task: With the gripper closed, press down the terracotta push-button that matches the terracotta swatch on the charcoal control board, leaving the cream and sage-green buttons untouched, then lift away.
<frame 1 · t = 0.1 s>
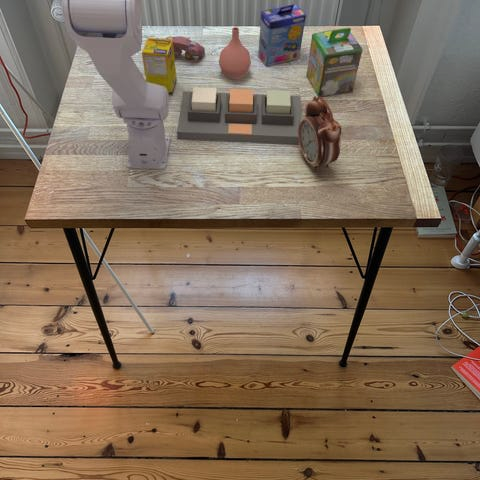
alarm clock: (314, 161, 107), on the table
chalk box: (328, 84, 123), on the table
control board: (240, 120, 114), on the table
supplement box: (162, 87, 121), on the table
terracotta button: (241, 102, 110), point 5 cm above the table, slide at 0.0 cm
sage button: (278, 103, 110), point 5 cm above the table, slide at 0.0 cm
ink cartridge box: (278, 58, 129), on the table
red toy car: (184, 56, 129), on the table
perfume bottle: (234, 75, 125), on the table
cream button: (204, 100, 110), point 5 cm above the table, slide at 0.0 cm
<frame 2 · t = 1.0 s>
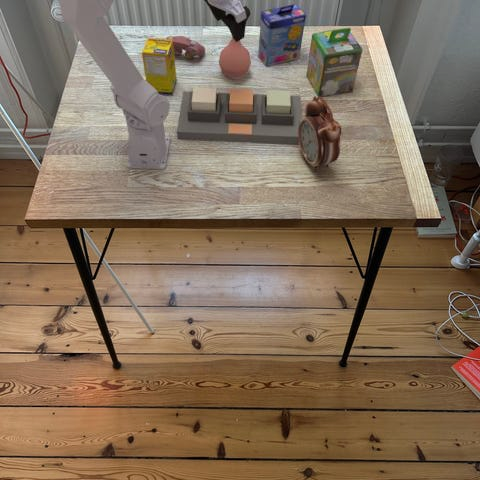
hand: (230, 28, 107), 16 cm above the table, tool tilted 20°, fingers open, 7 cm apart
nothing on the table moved.
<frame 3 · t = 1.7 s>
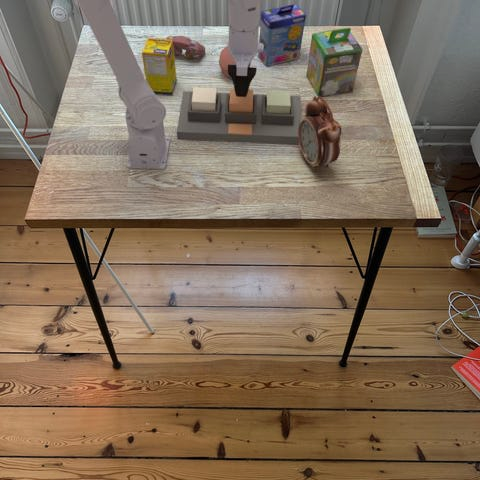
hand: (241, 85, 107), 9 cm above the table, tool pointing down, fingers open, 7 cm apart
nothing on the table moved.
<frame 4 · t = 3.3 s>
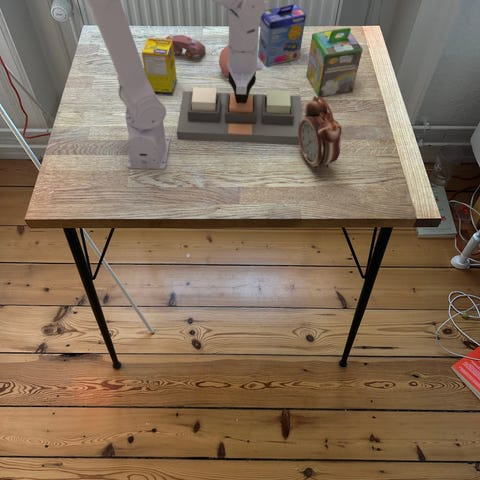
hand: (241, 101, 110), 5 cm above the table, tool pointing down, fingers closed, pressing on terracotta button
terracotta button: (241, 106, 111), point 4 cm above the table, slide at 1.3 cm, touching gripper
everything else where it was.
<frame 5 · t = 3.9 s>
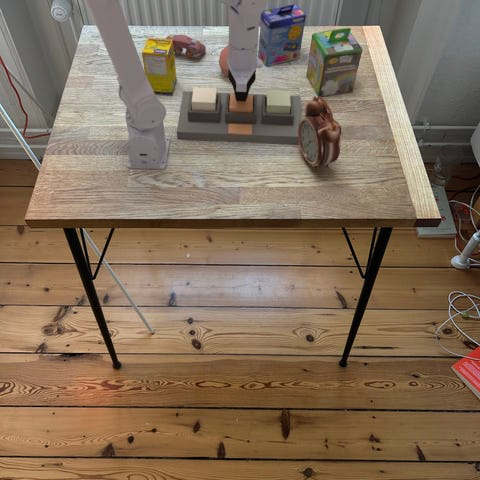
hand: (241, 99, 110), 6 cm above the table, tool pointing down, fingers closed
terracotta button: (241, 106, 111), point 4 cm above the table, slide at 1.3 cm
everything else where it was.
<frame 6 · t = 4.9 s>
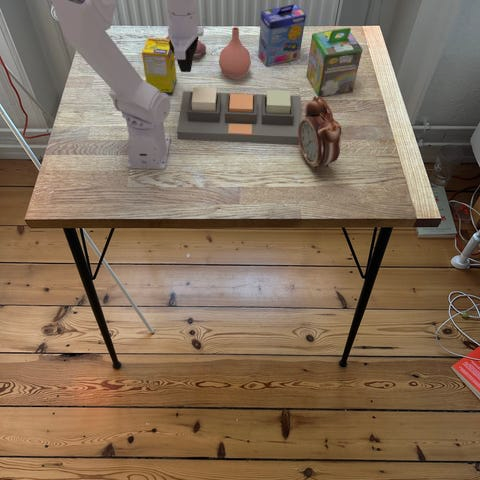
hand: (186, 70, 108), 10 cm above the table, tool pointing down, fingers closed
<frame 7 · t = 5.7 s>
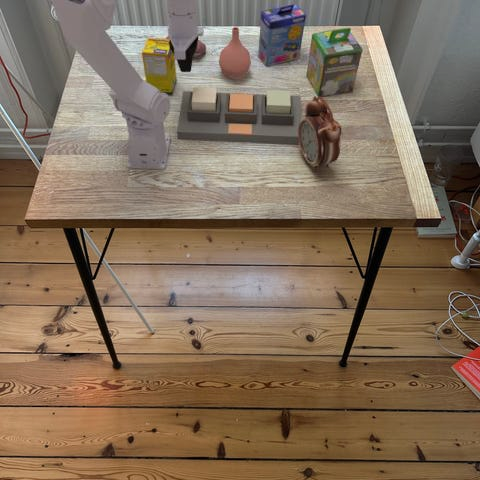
hand: (185, 70, 108), 10 cm above the table, tool pointing down, fingers closed
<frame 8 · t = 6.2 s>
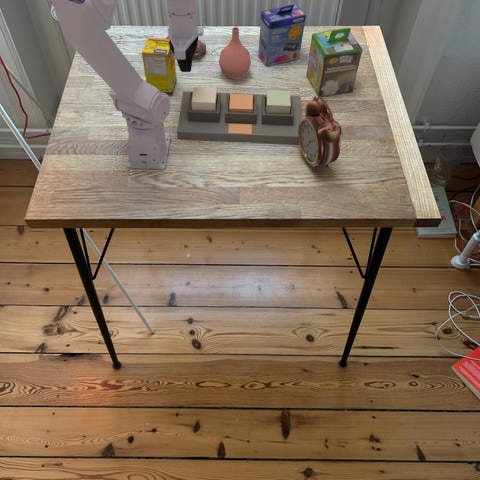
hand: (185, 70, 108), 10 cm above the table, tool pointing down, fingers closed
at the end: terracotta button slide at 1.3 cm; cream button slide at 0.0 cm; sage button slide at 0.0 cm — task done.
